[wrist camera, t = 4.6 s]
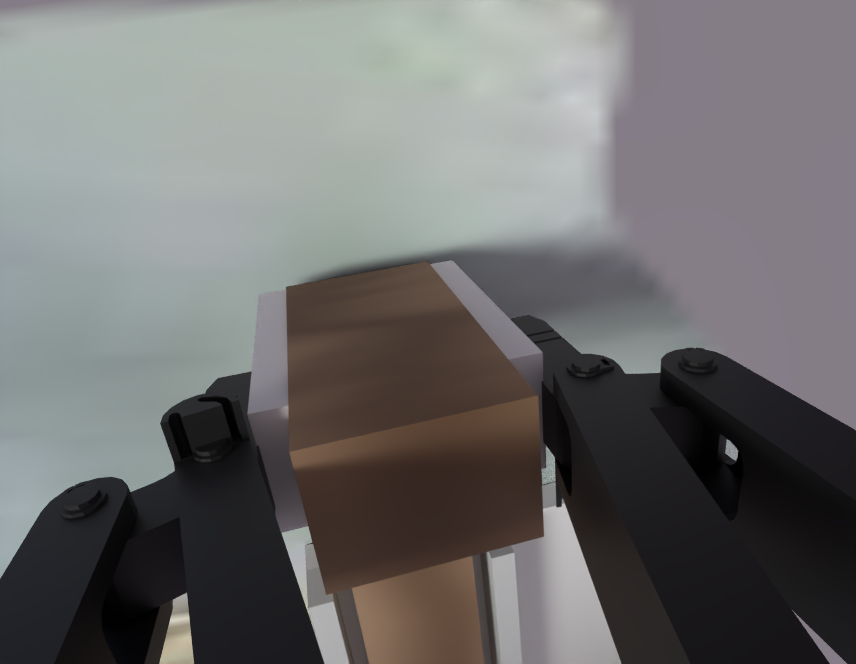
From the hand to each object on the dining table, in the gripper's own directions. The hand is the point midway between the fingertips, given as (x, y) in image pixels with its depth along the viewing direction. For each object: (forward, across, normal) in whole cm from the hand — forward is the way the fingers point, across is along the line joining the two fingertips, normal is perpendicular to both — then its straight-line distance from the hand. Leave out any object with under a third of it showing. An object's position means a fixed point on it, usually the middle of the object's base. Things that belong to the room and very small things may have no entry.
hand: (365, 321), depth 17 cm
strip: (0, 0, -14) cm, 14 cm away
